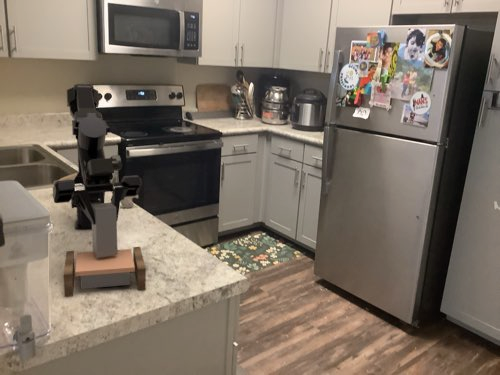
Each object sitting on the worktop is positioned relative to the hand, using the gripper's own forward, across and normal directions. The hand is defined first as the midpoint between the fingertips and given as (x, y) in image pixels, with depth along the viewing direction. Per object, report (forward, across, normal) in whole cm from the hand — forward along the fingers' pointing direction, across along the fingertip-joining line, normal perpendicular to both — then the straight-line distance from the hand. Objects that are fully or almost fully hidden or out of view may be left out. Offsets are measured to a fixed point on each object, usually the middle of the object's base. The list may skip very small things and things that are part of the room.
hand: (105, 222), depth 101 cm
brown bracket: (+11, -1, +8) cm, 13 cm away
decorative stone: (-37, +5, +58) cm, 69 cm away
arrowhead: (-23, +18, +43) cm, 52 cm away
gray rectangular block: (+5, 0, +6) cm, 8 cm away
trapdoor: (+10, 0, +8) cm, 12 cm away
